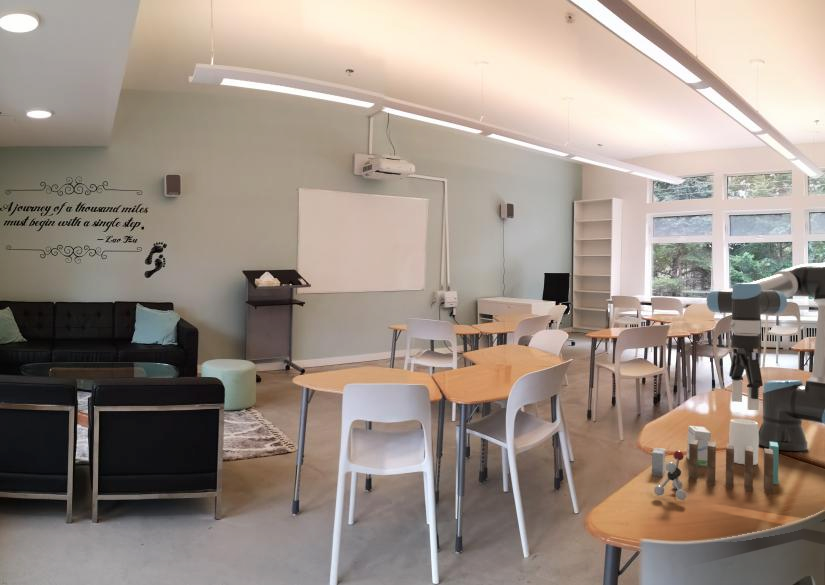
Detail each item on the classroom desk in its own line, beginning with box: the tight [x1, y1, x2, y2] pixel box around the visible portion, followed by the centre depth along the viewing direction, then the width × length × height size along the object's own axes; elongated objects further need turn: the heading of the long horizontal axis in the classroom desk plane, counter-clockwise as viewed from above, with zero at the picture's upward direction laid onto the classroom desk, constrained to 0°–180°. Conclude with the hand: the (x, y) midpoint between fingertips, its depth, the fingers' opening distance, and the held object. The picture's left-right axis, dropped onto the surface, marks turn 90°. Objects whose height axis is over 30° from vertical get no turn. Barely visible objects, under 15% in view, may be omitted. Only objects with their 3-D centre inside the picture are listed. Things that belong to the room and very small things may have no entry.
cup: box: [728, 418, 760, 466], centre depth 190 cm, size 8×8×14 cm
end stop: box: [651, 446, 666, 478], centre depth 179 cm, size 3×7×7 cm, turn 151°
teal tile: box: [768, 442, 780, 485], centre depth 173 cm, size 2×6×11 cm, turn 151°
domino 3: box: [725, 443, 735, 489], centre depth 170 cm, size 2×6×11 cm, turn 151°
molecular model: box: [653, 450, 687, 501], centre depth 162 cm, size 8×12×11 cm
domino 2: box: [706, 441, 717, 486], centre depth 172 cm, size 2×6×11 cm, turn 151°
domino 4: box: [743, 446, 754, 492], centre depth 168 cm, size 2×6×11 cm, turn 151°
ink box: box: [686, 425, 712, 468], centre depth 189 cm, size 9×5×12 cm, turn 168°
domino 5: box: [763, 447, 774, 495], centre depth 165 cm, size 2×6×11 cm, turn 151°
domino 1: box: [688, 439, 699, 483], centre depth 175 cm, size 2×6×11 cm, turn 151°
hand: (744, 405), depth 175 cm, fingers open, 13 cm apart
